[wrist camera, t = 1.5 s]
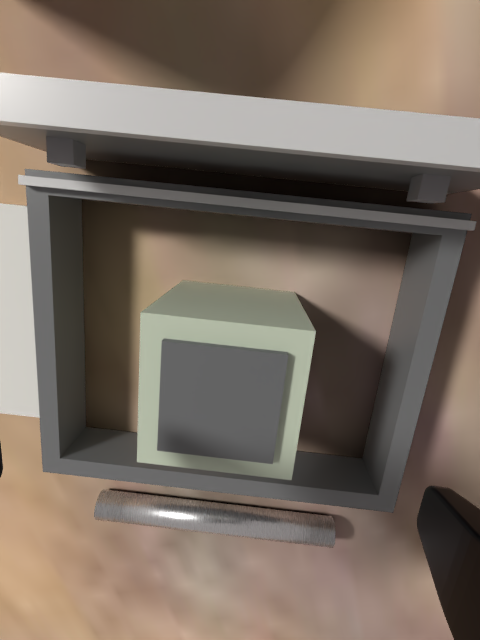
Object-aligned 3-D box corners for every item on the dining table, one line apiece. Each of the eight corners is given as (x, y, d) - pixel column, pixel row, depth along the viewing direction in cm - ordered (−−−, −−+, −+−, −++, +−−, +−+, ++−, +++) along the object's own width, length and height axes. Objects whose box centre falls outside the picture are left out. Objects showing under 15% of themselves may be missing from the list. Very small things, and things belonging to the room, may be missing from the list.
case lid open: (451, 171, 14) (606, 130, 8) (441, 213, 15) (580, 206, 8) (56, 132, 14) (-99, 63, 8) (57, 174, 15) (-88, 139, 9)
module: (294, 291, 16) (317, 334, 10) (280, 393, 17) (292, 485, 11) (183, 280, 16) (137, 314, 10) (177, 382, 17) (134, 467, 11)
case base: (436, 215, 15) (478, 213, 12) (375, 473, 18) (396, 520, 15) (62, 177, 15) (17, 167, 12) (71, 438, 18) (37, 477, 15)
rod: (331, 509, 19) (337, 532, 17) (326, 531, 19) (332, 554, 18) (105, 483, 19) (94, 503, 18) (105, 505, 19) (94, 526, 18)
